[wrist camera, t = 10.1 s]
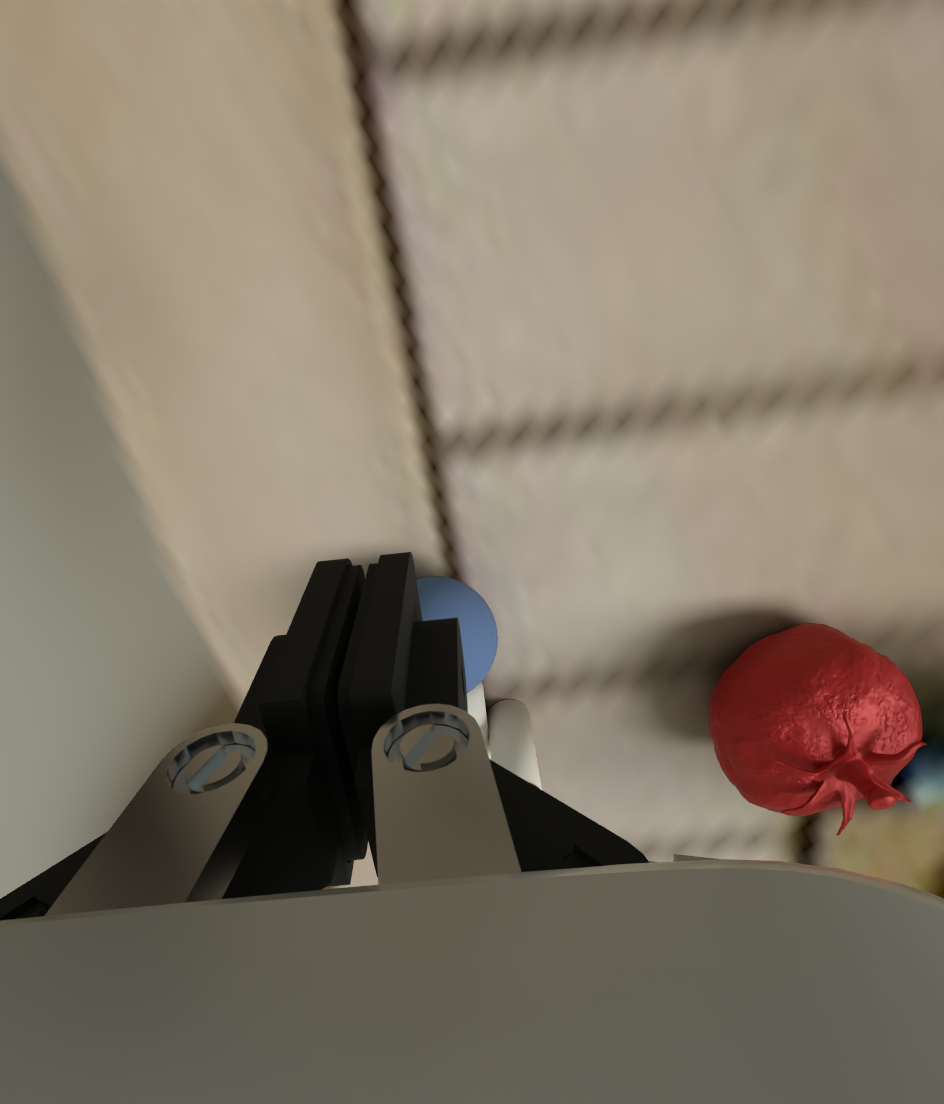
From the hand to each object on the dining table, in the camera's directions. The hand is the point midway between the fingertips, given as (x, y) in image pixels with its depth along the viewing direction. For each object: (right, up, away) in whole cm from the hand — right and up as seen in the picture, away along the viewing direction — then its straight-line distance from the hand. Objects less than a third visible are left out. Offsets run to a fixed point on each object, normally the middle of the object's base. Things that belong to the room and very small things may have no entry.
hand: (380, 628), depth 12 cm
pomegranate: (+19, -6, +25) cm, 32 cm away
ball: (0, -3, +19) cm, 19 cm away
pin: (+4, -8, +25) cm, 27 cm away
